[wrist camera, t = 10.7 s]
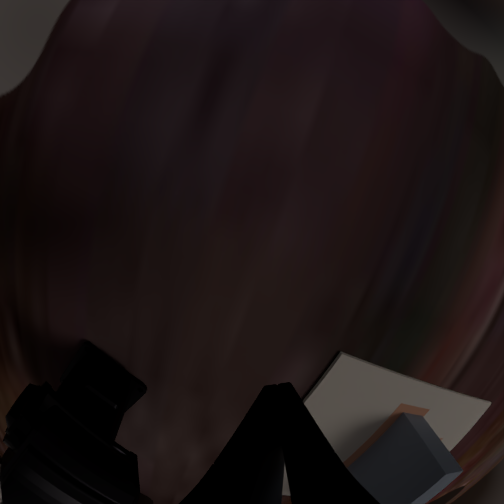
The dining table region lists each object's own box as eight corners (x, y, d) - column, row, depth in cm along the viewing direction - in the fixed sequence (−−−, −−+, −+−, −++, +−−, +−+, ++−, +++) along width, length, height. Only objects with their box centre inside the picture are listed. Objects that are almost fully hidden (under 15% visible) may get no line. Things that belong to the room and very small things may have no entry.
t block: (327, 483, 27) (348, 542, 17) (403, 412, 25) (446, 474, 15) (393, 482, 30) (416, 526, 20) (457, 421, 27) (492, 463, 18)
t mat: (224, 483, 26) (224, 486, 25) (340, 351, 22) (342, 353, 22) (402, 491, 32) (403, 492, 32) (490, 401, 28) (491, 403, 28)
